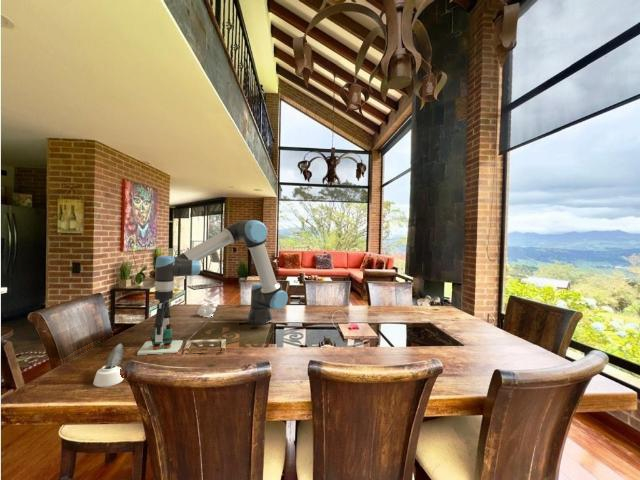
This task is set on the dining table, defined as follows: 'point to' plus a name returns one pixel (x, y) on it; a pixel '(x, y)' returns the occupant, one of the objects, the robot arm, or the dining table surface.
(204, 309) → the rabbit
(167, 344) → the binoculars
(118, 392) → the dining table surface
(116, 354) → the inkwell
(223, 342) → the frame
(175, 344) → the pad
